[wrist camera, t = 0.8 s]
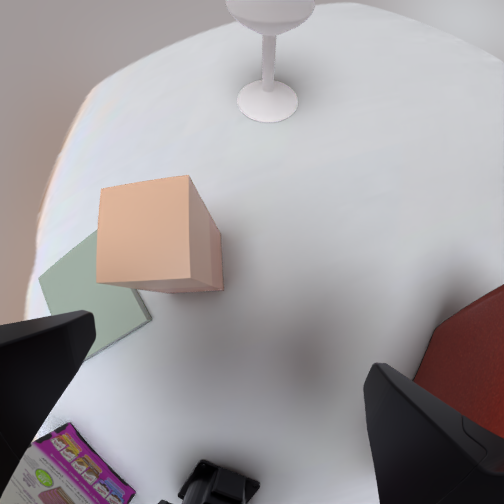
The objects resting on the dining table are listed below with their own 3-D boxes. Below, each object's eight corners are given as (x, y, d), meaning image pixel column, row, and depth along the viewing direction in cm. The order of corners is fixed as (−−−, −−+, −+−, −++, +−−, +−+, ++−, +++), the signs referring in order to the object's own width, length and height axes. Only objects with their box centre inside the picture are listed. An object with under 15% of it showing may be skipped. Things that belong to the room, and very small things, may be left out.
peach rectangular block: (223, 290, 24) (190, 277, 12) (168, 293, 24) (96, 282, 12) (220, 233, 25) (188, 174, 13) (166, 238, 25) (101, 189, 13)
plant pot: (424, 278, 24) (563, 243, 7) (517, 335, 22) (614, 335, 5) (339, 454, 21) (406, 569, 4) (455, 471, 19) (530, 524, 3)
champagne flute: (288, 76, 28) (304, -110, 5) (306, 117, 27) (350, -101, 4) (231, 84, 28) (206, -109, 5) (243, 128, 27) (221, -110, 3)
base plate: (152, 319, 24) (146, 320, 23) (80, 363, 23) (73, 365, 22) (107, 229, 25) (102, 225, 24) (44, 279, 25) (38, 278, 24)
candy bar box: (52, 436, 21) (-38, 480, 5) (69, 420, 22) (-33, 469, 6) (116, 503, 20) (53, 577, 4) (138, 493, 20) (73, 579, 4)
